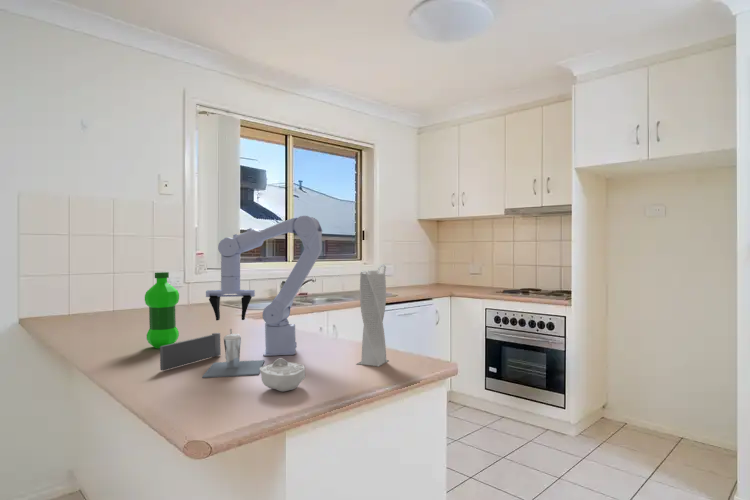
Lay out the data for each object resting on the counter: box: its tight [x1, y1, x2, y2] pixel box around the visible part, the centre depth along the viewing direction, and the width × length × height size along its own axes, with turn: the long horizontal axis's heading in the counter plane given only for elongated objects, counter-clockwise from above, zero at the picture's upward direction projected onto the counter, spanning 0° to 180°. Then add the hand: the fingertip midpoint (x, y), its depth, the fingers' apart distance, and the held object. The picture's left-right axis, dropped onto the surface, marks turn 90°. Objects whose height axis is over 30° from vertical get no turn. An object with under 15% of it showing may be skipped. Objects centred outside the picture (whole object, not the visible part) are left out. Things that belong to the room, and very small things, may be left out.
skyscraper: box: [356, 264, 390, 368], centre depth 129 cm, size 8×8×28 cm
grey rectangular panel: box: [159, 332, 222, 371], centre depth 132 cm, size 2×20×7 cm, turn 151°
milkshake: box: [223, 328, 242, 369], centre depth 125 cm, size 5×5×10 cm
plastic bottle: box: [144, 271, 180, 349], centre depth 154 cm, size 10×10×25 cm
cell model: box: [260, 357, 306, 392], centre depth 107 cm, size 10×12×7 cm
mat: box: [201, 359, 265, 379], centre depth 125 cm, size 14×14×1 cm
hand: (230, 319), depth 144 cm, fingers open, 7 cm apart
